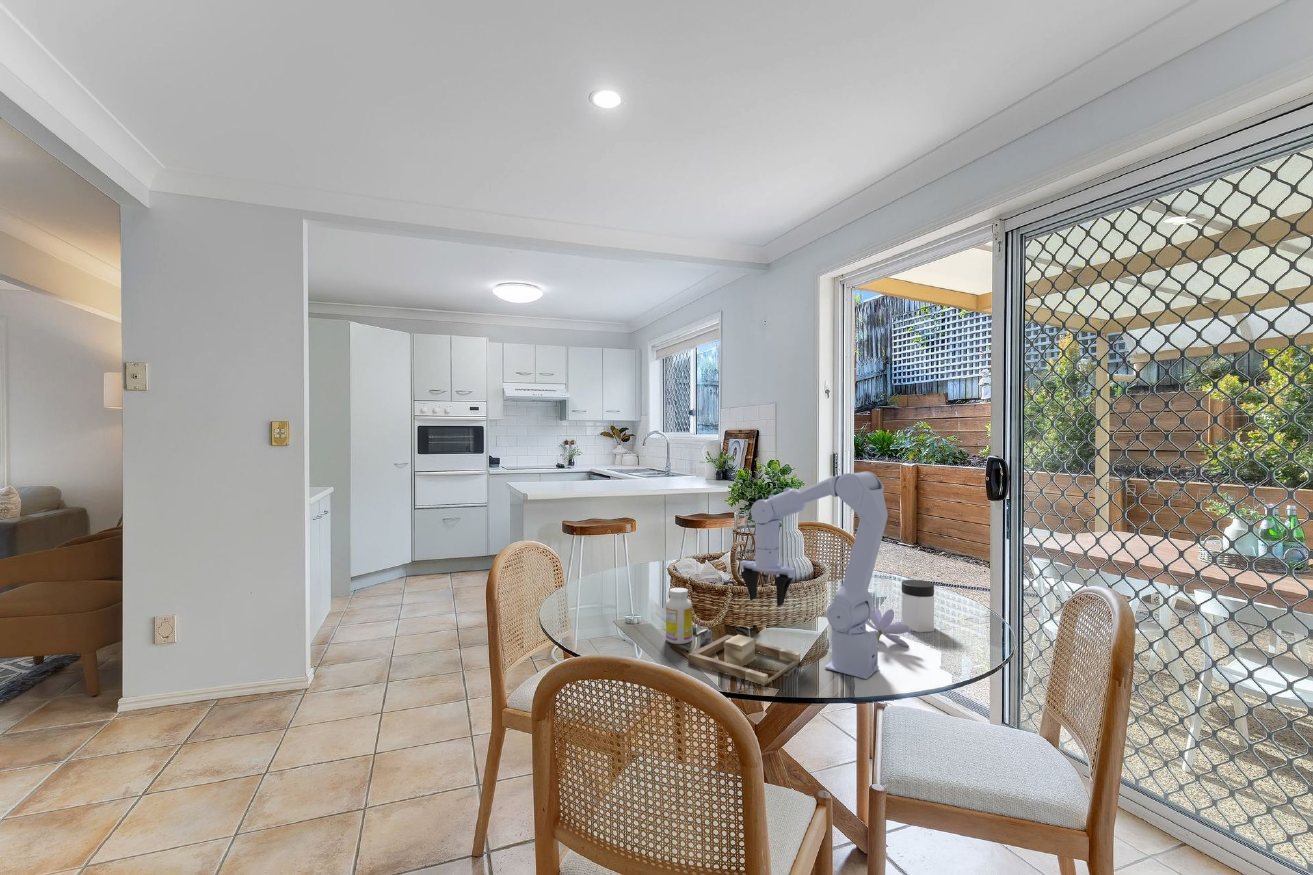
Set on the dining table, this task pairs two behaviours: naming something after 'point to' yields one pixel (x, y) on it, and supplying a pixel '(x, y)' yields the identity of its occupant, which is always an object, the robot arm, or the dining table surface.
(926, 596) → the jar
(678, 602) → the supplement bottle
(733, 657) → the beige cube
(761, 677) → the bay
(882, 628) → the water lily
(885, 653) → the dining table surface
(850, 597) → the robot arm
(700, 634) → the winch
